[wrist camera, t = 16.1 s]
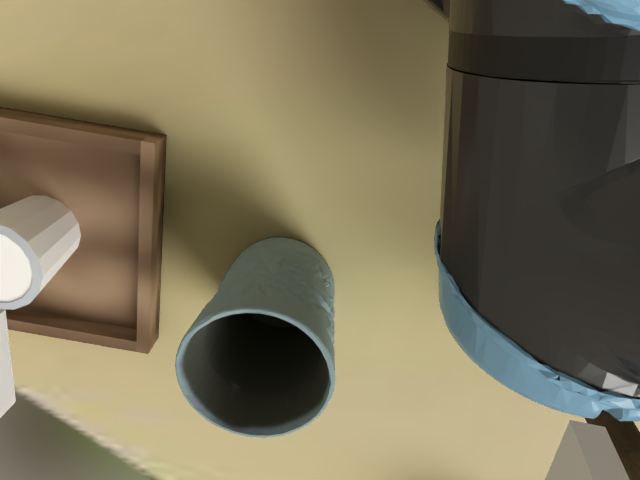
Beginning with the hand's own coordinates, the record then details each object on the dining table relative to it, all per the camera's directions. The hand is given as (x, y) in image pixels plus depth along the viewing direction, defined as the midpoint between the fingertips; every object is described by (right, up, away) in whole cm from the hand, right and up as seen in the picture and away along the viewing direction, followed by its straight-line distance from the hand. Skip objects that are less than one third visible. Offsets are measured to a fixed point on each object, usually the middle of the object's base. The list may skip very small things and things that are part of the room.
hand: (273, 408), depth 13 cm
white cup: (-21, +5, +32) cm, 38 cm away
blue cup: (-2, 0, +33) cm, 33 cm away
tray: (-21, +5, +33) cm, 39 cm away
